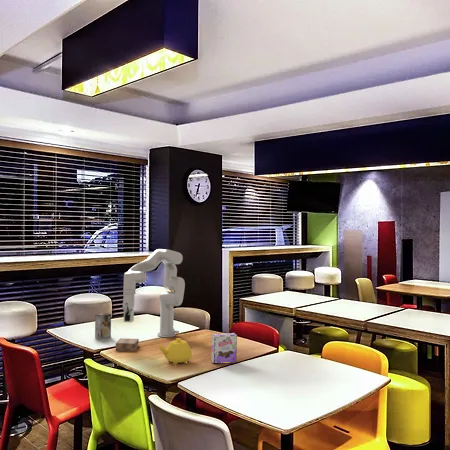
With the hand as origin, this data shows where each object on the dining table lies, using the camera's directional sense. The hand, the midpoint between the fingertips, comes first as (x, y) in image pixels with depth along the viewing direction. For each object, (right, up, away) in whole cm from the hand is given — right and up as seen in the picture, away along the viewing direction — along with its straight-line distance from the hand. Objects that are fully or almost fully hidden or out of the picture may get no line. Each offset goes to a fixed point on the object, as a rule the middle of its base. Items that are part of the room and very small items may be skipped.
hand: (128, 319), depth 292 cm
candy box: (+61, -20, -26) cm, 69 cm away
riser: (-1, -19, 0) cm, 19 cm away
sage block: (0, -1, 0) cm, 1 cm away
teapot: (+33, -19, -29) cm, 47 cm away
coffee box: (-24, -18, +26) cm, 39 cm away
